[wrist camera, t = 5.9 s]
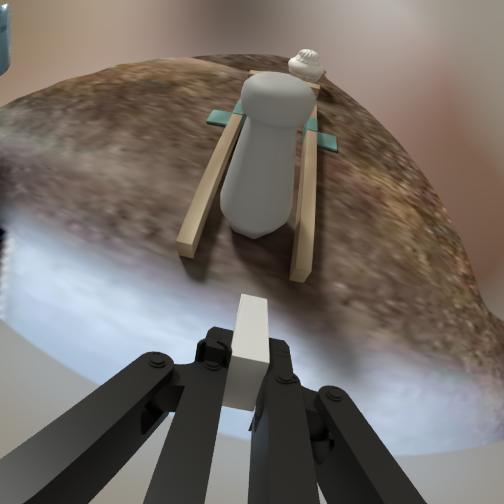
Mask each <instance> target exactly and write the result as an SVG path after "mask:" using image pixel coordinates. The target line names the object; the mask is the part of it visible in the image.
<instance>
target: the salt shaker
mask: <svg viewBox="0 0 504 504" xmlns="http://www.w3.org/2000/svg"><path fill="white" fill-rule="evenodd" d="M315 98H316V96H315V94H314V92H313V90H312V89H311V87H310V86H309V85H308V84H307V83H306V82H304V81H303V80H301V79H299V78H297V77H294V76H292V75H289V74H284V73H279V72H261V73H256V74H255V75H253V76H251V77H250V78H249V79H247V80H246V81H245V82H244V85H243V88H242V91H241V105H242V110H243V112H244V113H245V114H246V115H247V118H246V120H245V123H244V126H243V129H242V131H241V134H240V137H239V140H238V143H237V146H236V149H235V151H234V154H233V157H232V160H231V163H230V166H229V169H228V172H227V175H226V178H225V181H224V184H223V187H222V190H221V193H220V206H221V211H222V213H223V214H224V216H225V218H226V219H227V221H228V223H229V224H230V226H231V228H232V229H233V231H234V232H237V233H239V234H241V235H244V236H246V237H249V238H251V239H256V238H259V237H261V236H264V235H266V234H269V233H271V232H273V231H275V230H276V229H278V228H279V227H281V226H282V225H284V224H285V223H286V222H287V220H288V218H289V215H290V212H291V210H292V201H293V186H294V170H295V152H296V131H297V127H300V126H303V125H305V124H306V123H307V122H308V120H309V118H310V116H311V114H312V112H313V109H314V107H315Z"/></svg>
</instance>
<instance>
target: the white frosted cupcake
mask: <svg viewBox="0 0 504 504" xmlns="http://www.w3.org/2000/svg"><path fill="white" fill-rule="evenodd" d="M319 59H320V57H319V55H318V54H317V53H316V52H314V51H311V50H301V51H300V52H299V55H297V56H296V57H294V58H292V59H290V60H289V62H288V65H289V71H290V74H291V75H292V76H294V77H297V78H299V79H301V80H303V81H306V82H310V83H313V84H314V83H315V82H316V81H317V80H318V79H319V78H320V77H321V75H322V74H323V73H324V68H323V66H322V65H321V63H320V61H319Z"/></svg>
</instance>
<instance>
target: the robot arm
mask: <svg viewBox="0 0 504 504" xmlns="http://www.w3.org/2000/svg"><path fill="white" fill-rule="evenodd" d="M10 37H11V36H10V9H9V4H5V5H1V6H0V76H1V75H3V74H4V73H5V72H6V71H7V70H8V68H9V66H10V62H11V38H10ZM255 405H256V408H255ZM222 406H226V407H231V408H236V409H242V410H247V411H253V410H254V408H255V414H254V417H253V420H252V422H251V425H250V428H249V430H248V431H251V430H252V437H251V455H250V456H251V457H250V472H249V490H248V504H320V500H319V494H318V486H317V483H318V485H319V487H320V489H321V491H322V493H323V496H324V497H325V500H326V502H327V504H427V503H426V502H425V501H424V499H423V498H422V497H421V495H420V494H419V492H418V491H417V489H416V488H415V487H414V485H413V484H412V483H411V481H410V480H409V478H408V477H407V476H406V474H405V473H404V472H403V470H402V469H401V467H400V466H399V465H398V463H397V462H396V461H395V459H394V458H393V456H392V455H391V454H390V452H389V451H388V449H387V448H386V447H385V445H384V444H383V443H382V441H381V440H380V438H379V437H378V436H377V434H376V433H375V431H374V430H373V429H372V427H371V426H370V424H369V423H368V422H367V420H366V419H365V418H364V416H363V415H362V413H361V412H360V411H359V409H358V408H357V406H356V405H355V404H354V402H353V401H352V399H351V398H350V397H349V395H348V394H347V393H346V392H345V391H344V390H342V389H340V388H338V387H335V386H328V385H327V386H323V387H321V388H320V389H319V391H318V392H316V391H313V390H310V389H308V388H305V387H303V386H302V385H301V383H300V380H299V378H298V377H297V376H296V375H295V374H294V373H293V368H292V361H291V355H290V349H289V346H288V345H287V343H286V342H285V341H284V340H279V339H273V338H269V336H268V313H267V299H264V298H259V297H254V296H250V295H246V294H242V295H241V299H240V303H239V308H238V312H237V316H236V321H235V325H234V329H233V331H232V330H227V329H223V328H219V327H215V326H214V327H213V328H211V329H210V330H208V333H207V335H206V338H205V339H203V340H200V341H199V342H198V344H197V350H196V356H195V361H194V362H193V363H190V364H174V361H173V360H172V358H171V357H169V356H168V355H166V354H164V353H161V352H147V353H145V354H143V355H141V356H140V357H138V358H137V359H136V360H135V361H133V362H132V363H131V364H129V365H128V366H127V367H125V368H124V369H123V370H121V371H120V372H119V373H117V374H116V375H115V376H113V377H112V378H111V379H109V380H108V381H107V382H105V383H104V384H103V385H101V386H100V387H99V388H98V389H96V390H95V391H93V392H92V393H91V394H89V395H88V396H87V397H85V398H84V399H83V400H81V401H80V402H79V403H77V404H76V405H75V406H73V407H72V408H71V409H69V410H68V411H66V412H65V413H64V414H62V415H61V416H60V417H58V418H57V419H56V420H54V421H53V422H52V423H50V424H49V425H47V426H46V427H45V428H43V429H42V430H41V431H39V432H38V433H36V434H35V435H34V436H33V437H31V438H30V439H28V440H27V441H25V442H24V443H22V444H21V445H20V446H18V447H17V448H16V449H14V450H13V451H12V452H10V453H8V454H7V455H6V456H4V457H3V458H1V459H0V504H88V503H89V502H90V501H91V500H92V499H93V498H94V497H95V496H96V495H97V494H98V493H99V492H100V491H101V490H102V489H103V487H104V486H105V485H106V484H107V483H108V482H109V481H110V480H111V479H112V478H113V477H114V476H115V475H116V474H117V472H118V471H119V470H120V469H121V468H122V467H123V466H124V465H125V464H126V463H127V461H128V460H129V459H130V458H131V457H132V456H133V455H134V454H135V453H136V451H137V450H138V449H139V448H140V447H141V446H142V445H143V444H144V442H145V441H146V440H147V439H148V438H149V437H150V435H151V434H152V433H153V432H154V431H155V430H156V429H157V427H158V426H159V425H160V424H161V423H162V422H163V420H164V419H165V418H166V417H167V416H168V414H169V412H175V415H174V418H173V420H172V423H171V426H170V429H169V431H168V434H167V437H166V440H165V443H164V445H163V448H162V451H161V454H160V456H159V459H158V462H157V465H156V468H155V470H154V473H153V476H152V479H151V482H150V485H149V488H148V490H147V493H146V496H145V499H144V502H143V504H204V502H205V496H206V491H207V485H208V480H209V474H210V468H211V463H212V457H213V452H214V446H215V441H216V435H217V429H218V424H219V418H220V413H221V407H222Z"/></svg>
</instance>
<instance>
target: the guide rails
mask: <svg viewBox="0 0 504 504" xmlns="http://www.w3.org/2000/svg"><path fill="white" fill-rule="evenodd" d="M256 73H261V72H260V71H254V70H251V71H250V72H249V75H248V79H249V78H250V77H251V76H253V75H255V74H256ZM304 82H306V81H304ZM306 83H307V84H308V85H309V86H310V87H311V89H312V90H313V92H314V94H315V96H316V98H315V107H314V109H313V112H312V114H311V116H310V118H309V120H308V122H307V123H306V124H305V125H304V129H303V140H302V142H303V146H302V159H301V171H300V182H299V193H298V204H297V214H296V223H295V233H294V242H293V250H292V259H291V267H290V275H289V280H292V281H297V282H302V283H304V282H305V280H306V279H307V277H308V276H309V274H310V273H311V271H312V257H313V242H314V225H315V203H316V169H317V146H318V147H322V148H326V149H329V150H332V151H336V152H337V142H336V137H335V136H331V135H328V134H324V133H321V132H317V106H316V100H317V97H318V94H319V91H320V85H317V84H313V83H310V82H306ZM245 118H246V114H245V113H244V112H243V110H242V105H241V98H240V100H239V102H237V104H236V106H235V108H234V110H233V112H232V113H231V112H225V111H219V110H213V111H212V113H211V115H210V116H209V118H208V119H207V123H211V124H217V125H223V126H226V128H225V130H224V132H223V134H222V136H221V138H220V140H219V142H218V144H217V147H216V149H215V151H214V153H213V155H212V157H211V160H210V162H209V164H208V166H207V168H206V171H205V173H204V175H203V177H202V180H201V182H200V184H199V187H198V189H197V191H196V194H195V196H194V198H193V201H192V203H191V206H190V208H189V210H188V213H187V215H186V218H185V220H184V223H183V225H182V228H181V230H180V233H179V235H178V238H177V241H176V242H177V248H178V254H179V255H180V256H184V257H188V258H194V255H195V252H196V249H197V246H198V243H199V240H200V237H201V234H202V231H203V228H204V225H205V222H206V219H207V217H208V214H209V211H210V208H211V205H212V203H213V200H214V197H215V194H216V192H217V189H218V186H219V183H220V181H221V178H222V175H223V173H224V170H225V168H226V165H227V162H228V160H229V157H230V155H231V152H232V149H233V147H234V144H235V142H236V139H237V137H238V134H239V132H240V129H241V128H242V126H243V123H244V121H245Z"/></svg>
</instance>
